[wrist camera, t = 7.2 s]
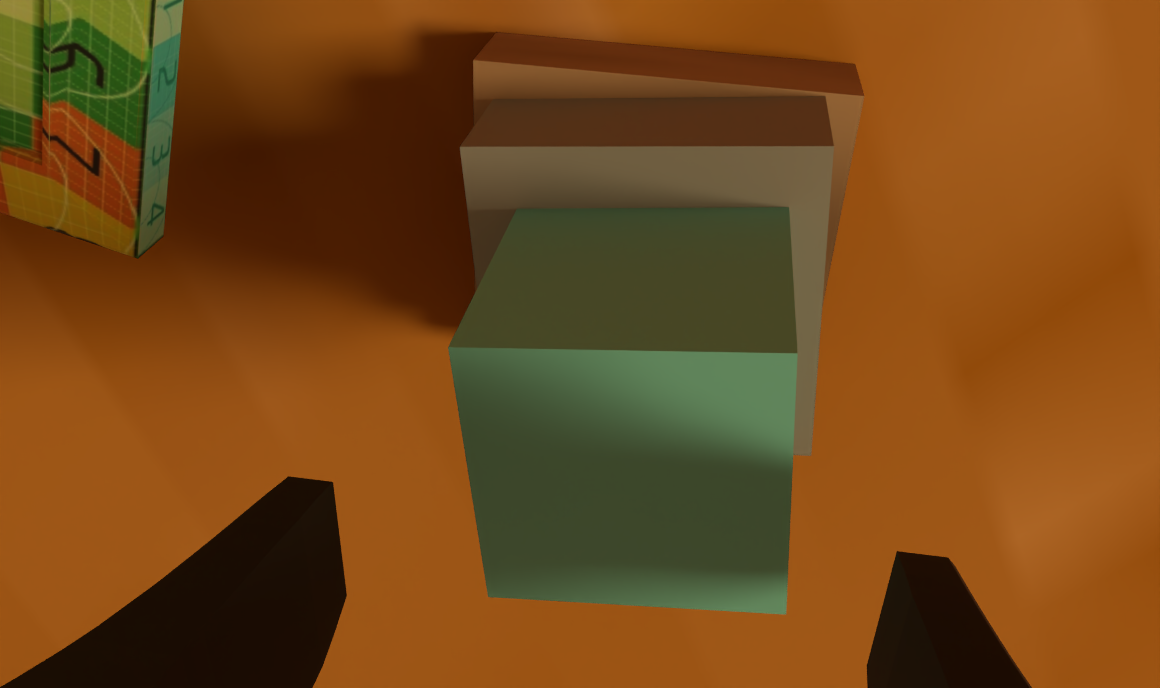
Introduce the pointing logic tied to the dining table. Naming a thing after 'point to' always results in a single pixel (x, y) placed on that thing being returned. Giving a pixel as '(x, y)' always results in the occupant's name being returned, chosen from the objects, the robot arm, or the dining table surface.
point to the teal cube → (633, 407)
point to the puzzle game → (89, 116)
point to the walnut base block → (669, 85)
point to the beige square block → (664, 178)
